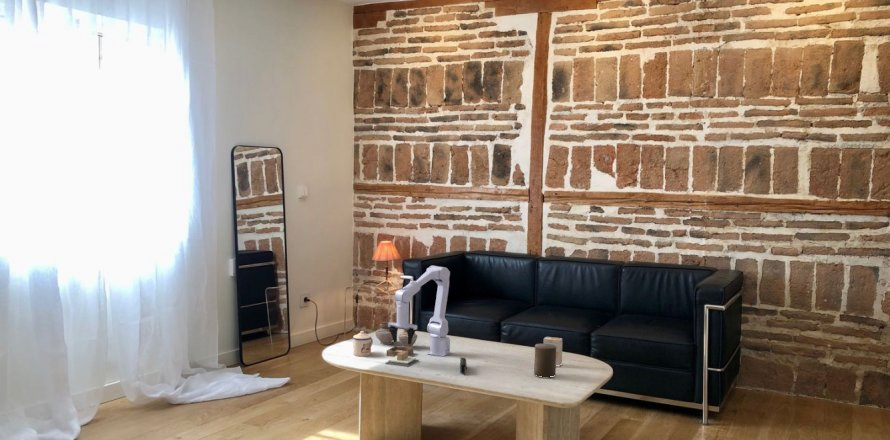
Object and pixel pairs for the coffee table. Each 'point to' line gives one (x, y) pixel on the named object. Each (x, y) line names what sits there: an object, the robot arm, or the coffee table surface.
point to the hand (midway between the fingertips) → (402, 343)
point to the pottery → (386, 337)
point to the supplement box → (558, 344)
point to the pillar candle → (545, 360)
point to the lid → (402, 358)
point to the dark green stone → (463, 365)
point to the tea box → (398, 351)
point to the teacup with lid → (362, 344)
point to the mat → (402, 364)
